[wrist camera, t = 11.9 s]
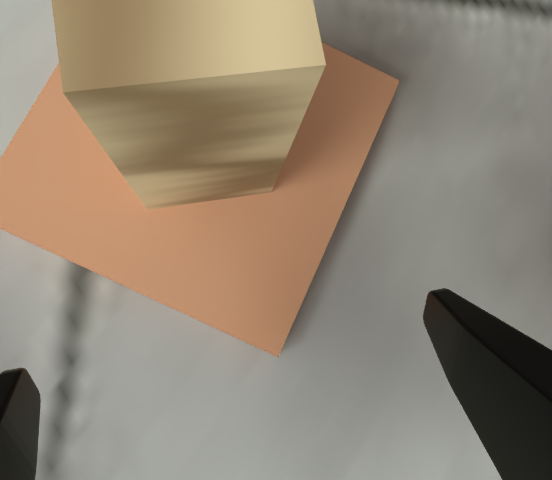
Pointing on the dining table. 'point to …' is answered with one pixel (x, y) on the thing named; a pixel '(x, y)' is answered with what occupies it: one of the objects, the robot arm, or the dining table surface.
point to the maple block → (191, 89)
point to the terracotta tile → (198, 209)
